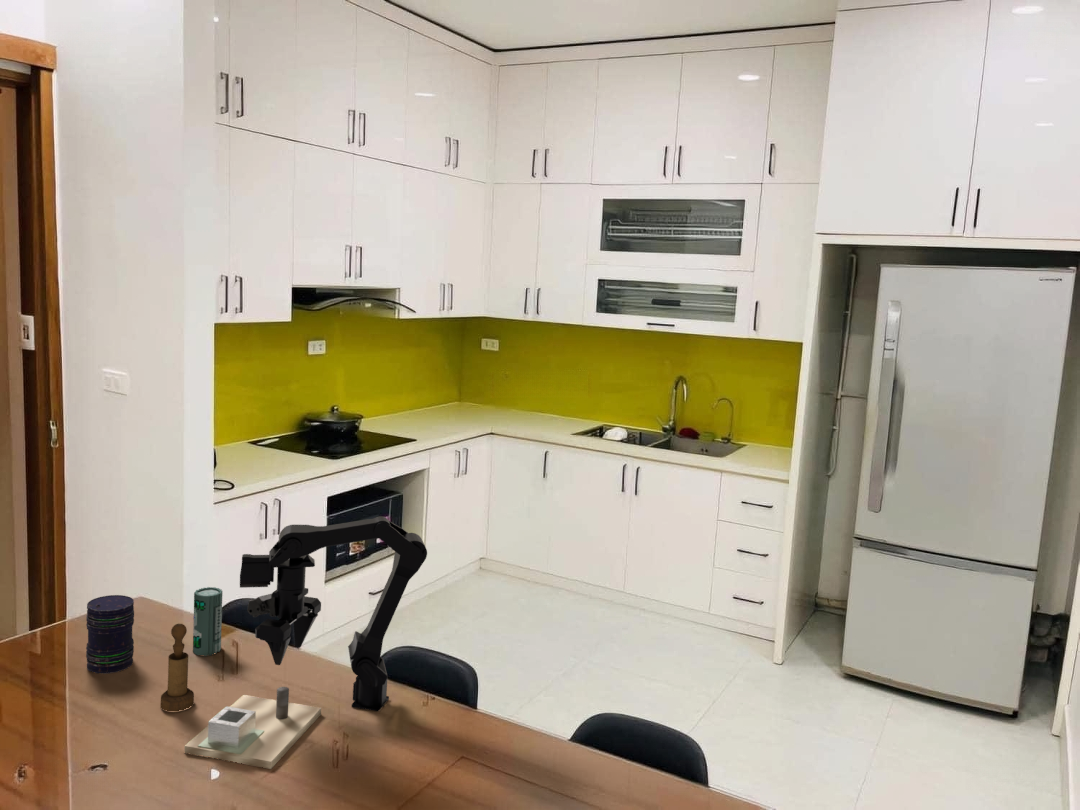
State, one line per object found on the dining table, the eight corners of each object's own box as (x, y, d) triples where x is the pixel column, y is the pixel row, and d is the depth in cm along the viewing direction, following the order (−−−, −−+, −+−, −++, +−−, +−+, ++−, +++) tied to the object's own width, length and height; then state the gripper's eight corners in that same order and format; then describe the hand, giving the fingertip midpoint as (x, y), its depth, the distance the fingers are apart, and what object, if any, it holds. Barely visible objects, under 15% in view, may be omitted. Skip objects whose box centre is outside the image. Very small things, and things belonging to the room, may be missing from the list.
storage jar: (119, 651, 207) (120, 591, 205) (142, 664, 201) (143, 603, 199) (77, 664, 198) (77, 602, 196) (99, 678, 193) (100, 614, 191)
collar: (255, 732, 172) (255, 711, 171) (238, 748, 166) (238, 726, 165) (225, 727, 173) (226, 706, 173) (207, 743, 167) (208, 721, 166)
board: (321, 714, 184) (322, 681, 183) (270, 769, 163) (272, 731, 162) (243, 701, 187) (244, 668, 186) (184, 753, 166) (185, 716, 165)
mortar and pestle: (181, 715, 180) (183, 633, 177) (153, 709, 181) (155, 628, 179) (200, 700, 186) (201, 621, 184) (173, 695, 188) (174, 616, 185)
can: (197, 645, 213) (198, 586, 211) (223, 645, 214) (224, 587, 212) (190, 655, 207) (191, 595, 205) (216, 656, 208) (218, 596, 206)
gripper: (276, 567, 192) (274, 633, 195) (232, 595, 174) (230, 668, 176) (323, 574, 191) (320, 641, 193) (283, 603, 172) (280, 676, 174)
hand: (288, 655), depth 184 cm, fingers open, 9 cm apart
